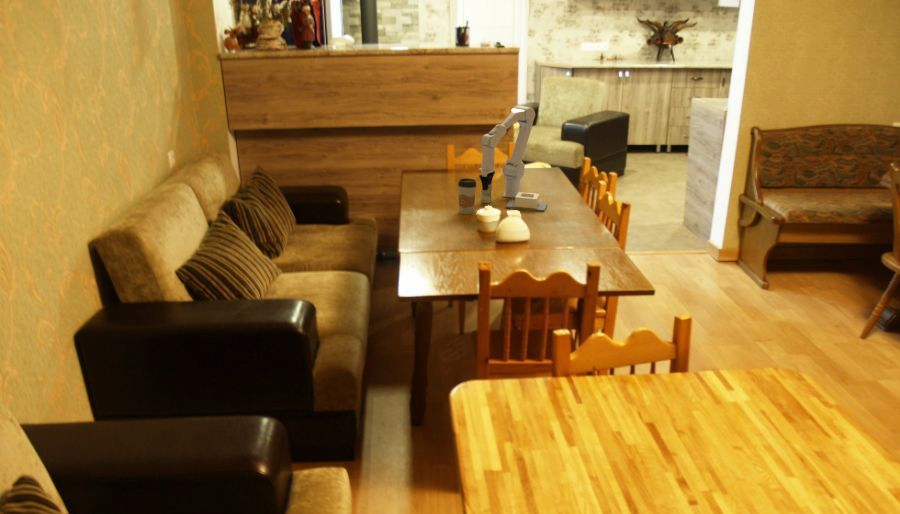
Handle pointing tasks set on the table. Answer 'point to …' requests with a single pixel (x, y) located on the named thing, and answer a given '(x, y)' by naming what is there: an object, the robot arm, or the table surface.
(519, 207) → the well
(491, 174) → the robot arm
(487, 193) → the peg
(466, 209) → the coffee cup
